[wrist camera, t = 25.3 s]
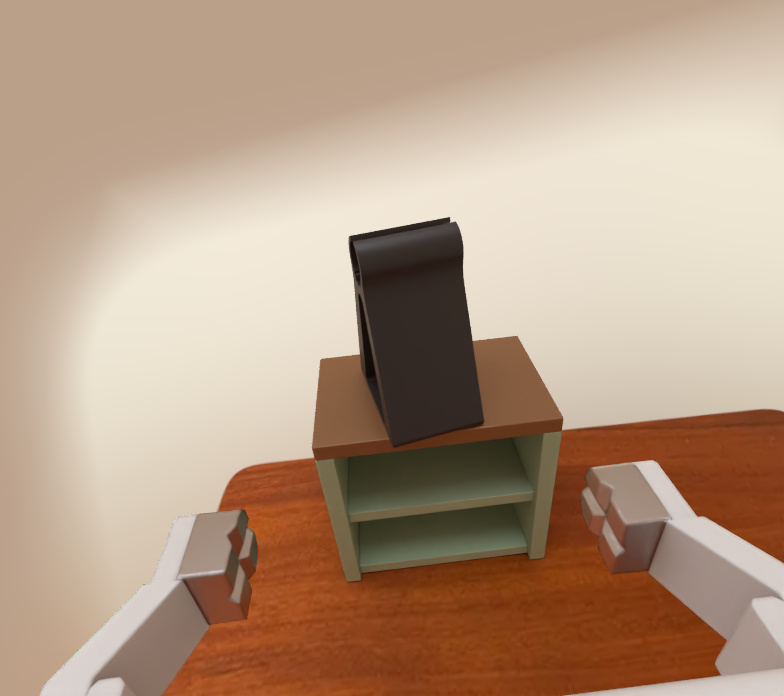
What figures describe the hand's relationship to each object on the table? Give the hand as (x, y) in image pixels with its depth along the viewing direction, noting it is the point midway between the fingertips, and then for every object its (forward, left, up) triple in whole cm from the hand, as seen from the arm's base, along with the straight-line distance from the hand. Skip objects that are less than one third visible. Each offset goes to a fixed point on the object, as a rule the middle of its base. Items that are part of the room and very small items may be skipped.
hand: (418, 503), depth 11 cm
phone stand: (+1, +18, -12) cm, 22 cm away
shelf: (+2, +19, -27) cm, 33 cm away
